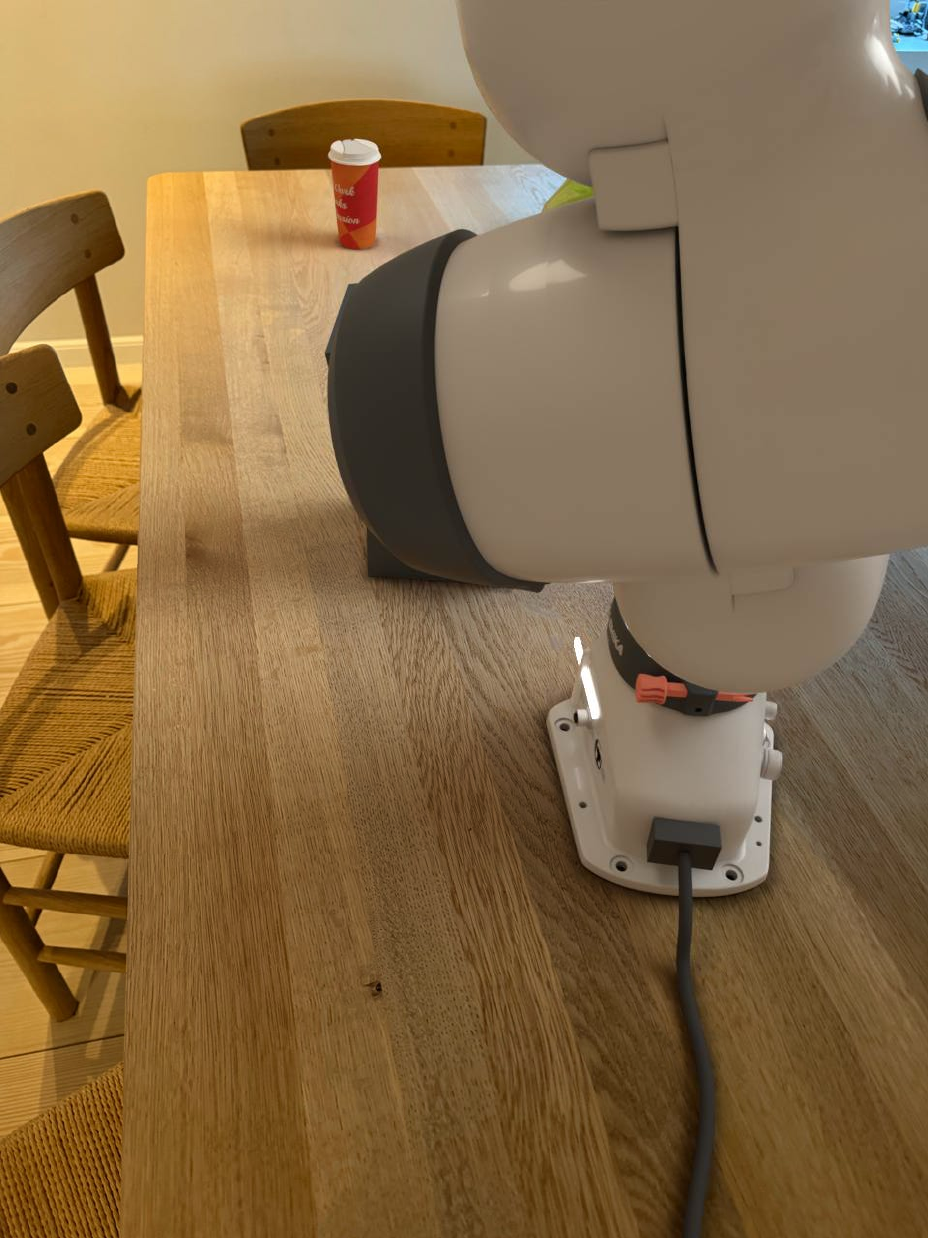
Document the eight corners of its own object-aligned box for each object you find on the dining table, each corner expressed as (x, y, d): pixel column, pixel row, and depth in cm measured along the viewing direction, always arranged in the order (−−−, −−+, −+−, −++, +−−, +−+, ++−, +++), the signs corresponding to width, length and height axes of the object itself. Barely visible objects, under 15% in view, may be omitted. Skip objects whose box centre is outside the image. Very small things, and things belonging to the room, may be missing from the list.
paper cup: (325, 235, 150) (320, 139, 140) (371, 229, 152) (369, 135, 142) (342, 255, 145) (338, 157, 135) (389, 248, 147) (389, 152, 137)
